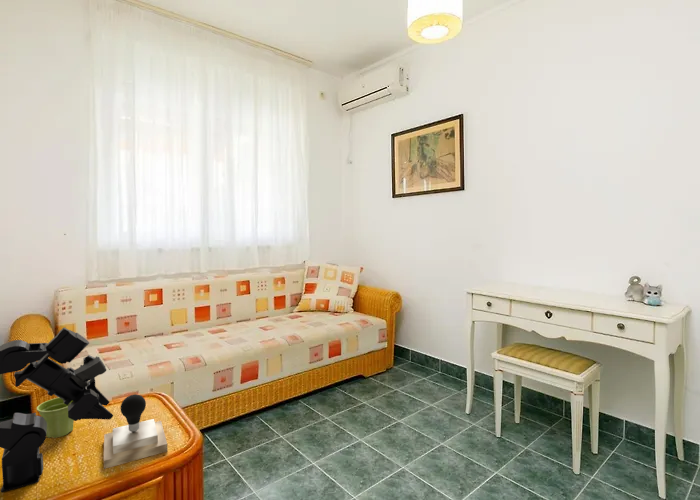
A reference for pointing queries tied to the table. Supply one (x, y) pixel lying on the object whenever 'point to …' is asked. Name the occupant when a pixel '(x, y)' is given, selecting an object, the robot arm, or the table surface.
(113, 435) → the stepped stand
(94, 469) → the table surface
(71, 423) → the plant pot
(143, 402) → the light bulb
